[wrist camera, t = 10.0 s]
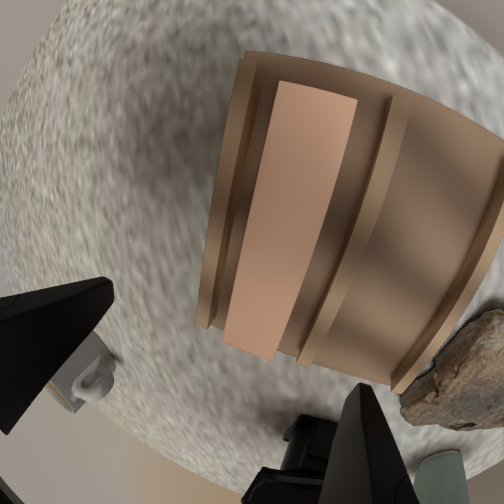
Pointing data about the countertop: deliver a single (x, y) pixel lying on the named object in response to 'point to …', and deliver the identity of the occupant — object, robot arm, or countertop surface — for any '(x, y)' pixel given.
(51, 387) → the coffee mug
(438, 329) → the rack rail
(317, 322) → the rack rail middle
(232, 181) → the rack rail
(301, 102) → the clay strip
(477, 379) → the brown rock
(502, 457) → the countertop surface
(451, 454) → the disposable coffee cup
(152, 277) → the countertop surface
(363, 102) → the rack
